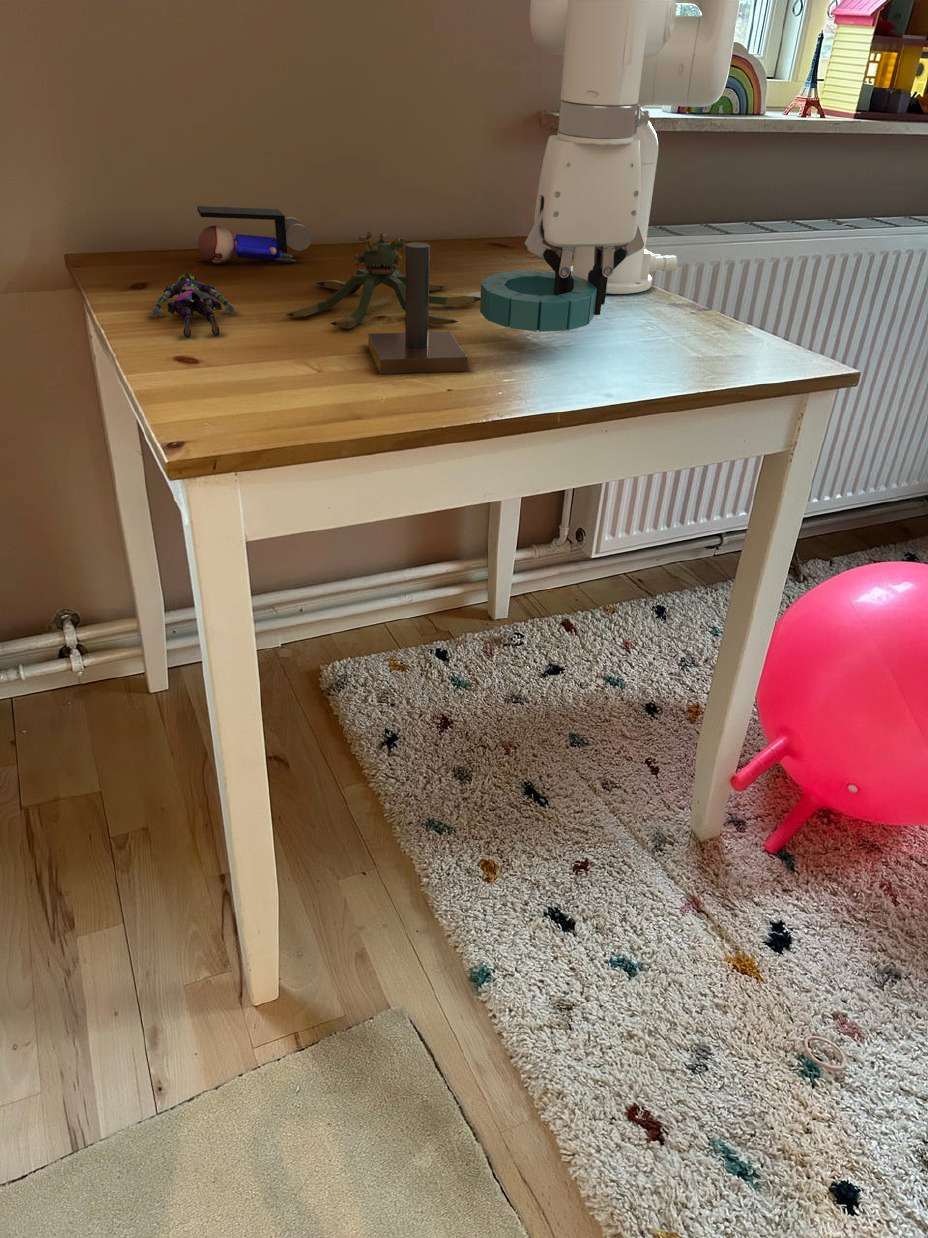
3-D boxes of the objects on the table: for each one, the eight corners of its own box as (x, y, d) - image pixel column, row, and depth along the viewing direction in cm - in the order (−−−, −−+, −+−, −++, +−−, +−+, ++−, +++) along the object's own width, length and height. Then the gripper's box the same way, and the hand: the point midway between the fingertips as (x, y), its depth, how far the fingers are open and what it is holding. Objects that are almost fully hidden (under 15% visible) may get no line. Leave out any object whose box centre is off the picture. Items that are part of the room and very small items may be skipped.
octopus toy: (285, 332, 107) (280, 249, 102) (283, 286, 124) (279, 213, 119) (503, 330, 111) (508, 251, 106) (473, 286, 127) (476, 216, 123)
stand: (449, 344, 105) (452, 235, 99) (467, 371, 98) (472, 254, 92) (368, 347, 104) (366, 235, 97) (380, 374, 96) (379, 255, 90)
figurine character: (301, 264, 140) (195, 255, 135) (304, 209, 136) (195, 198, 131) (310, 275, 135) (200, 266, 129) (313, 218, 131) (201, 207, 125)
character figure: (245, 337, 106) (226, 294, 118) (242, 303, 104) (223, 263, 116) (158, 342, 103) (148, 297, 115) (153, 307, 101) (143, 266, 113)
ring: (572, 296, 109) (575, 269, 107) (608, 329, 99) (611, 299, 97) (470, 299, 106) (471, 271, 105) (496, 333, 97) (498, 303, 95)
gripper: (659, 118, 98) (635, 299, 108) (507, 116, 95) (497, 304, 105) (689, 128, 92) (660, 319, 102) (527, 127, 89) (515, 325, 99)
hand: (577, 310), depth 104 cm, fingers closed on ring, 2 cm apart
